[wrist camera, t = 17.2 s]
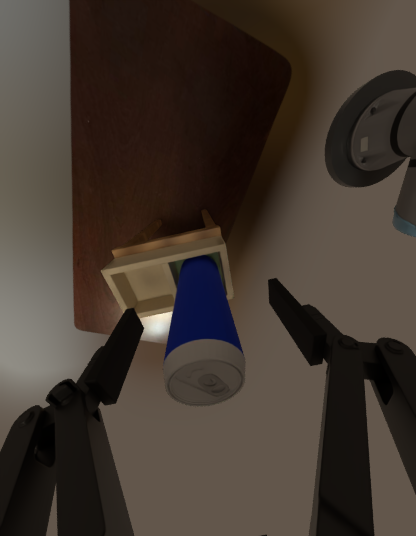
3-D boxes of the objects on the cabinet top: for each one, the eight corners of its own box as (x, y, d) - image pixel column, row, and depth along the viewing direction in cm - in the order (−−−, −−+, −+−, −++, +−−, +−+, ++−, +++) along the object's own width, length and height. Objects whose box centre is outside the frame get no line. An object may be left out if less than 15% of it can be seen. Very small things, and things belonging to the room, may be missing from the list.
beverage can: (172, 269, 23) (140, 387, 9) (200, 245, 21) (211, 339, 8) (197, 291, 24) (201, 417, 11) (224, 271, 23) (266, 383, 10)
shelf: (206, 208, 45) (220, 227, 22) (213, 242, 50) (230, 288, 26) (154, 219, 45) (111, 250, 22) (165, 252, 50) (139, 308, 26)
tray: (220, 235, 22) (225, 243, 19) (228, 283, 26) (234, 298, 22) (115, 257, 23) (100, 270, 19) (137, 302, 26) (127, 320, 22)
